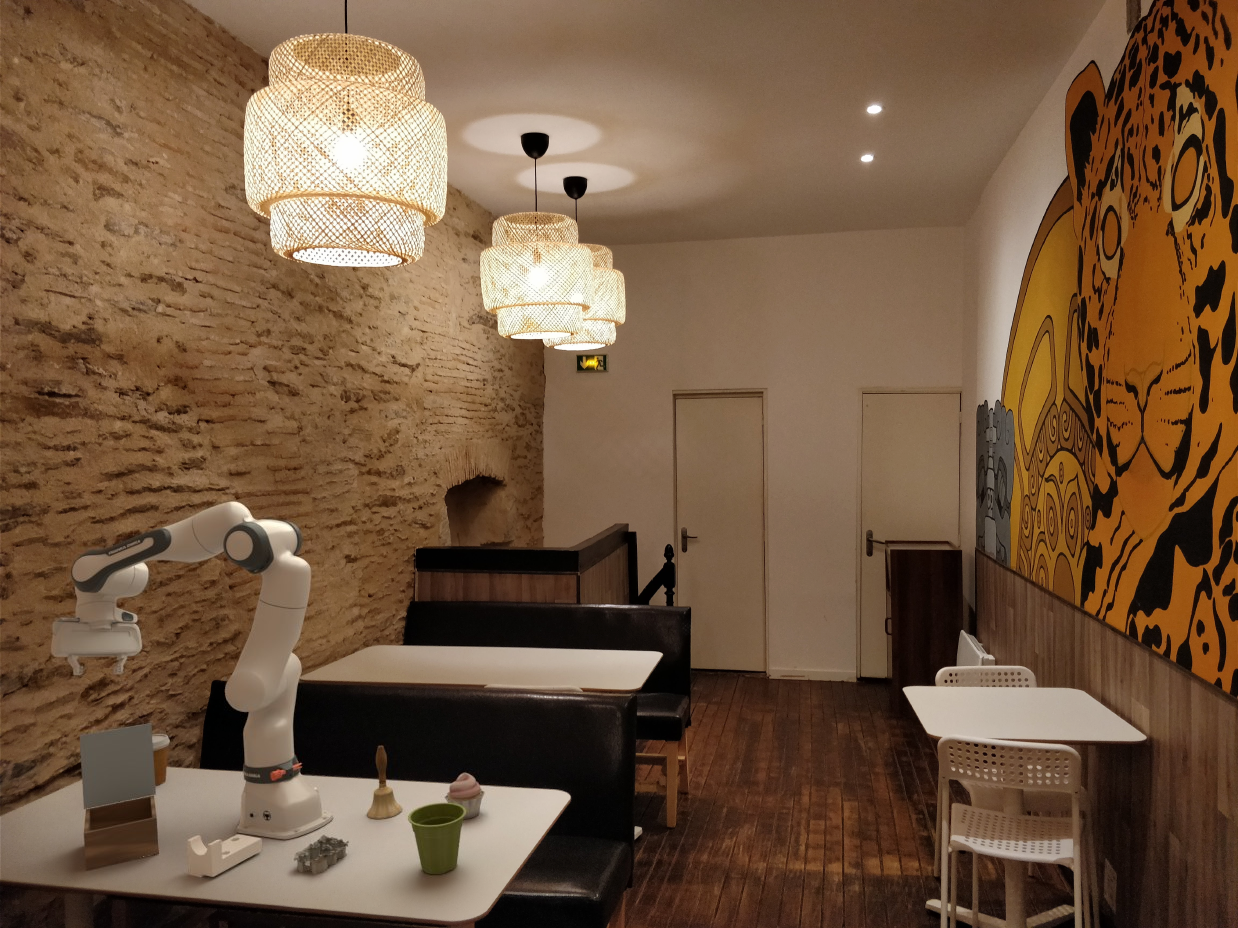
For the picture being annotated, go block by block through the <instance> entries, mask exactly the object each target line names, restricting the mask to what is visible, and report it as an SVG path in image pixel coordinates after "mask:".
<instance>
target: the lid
mask: <svg viewBox="0 0 1238 928" xmlns="http://www.w3.org/2000/svg"><path fill="white" fill-rule="evenodd" d="M152 731H153V729H152V722H150V723H145V724H138V725H137V724H136V725H132V726H127V727H126V726H125V727H119V728H115V729H108V730H107V729H106V730H103V731H97V732H89V733H85V734H80V735H79V745H80V761H81V762H80V765H81V781H82V798H83V801H82V802H83V810H86V809H89V808H94V807H99V806H104V805H109V804H114V803H119V802H124V801H129V800H134V799H139V798H143V797H148V796H153V795H154V796H156V795H157V792H156V790H157V789H156V786H155V773H154V758H153V742H152V735H153V732H152Z"/></svg>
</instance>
